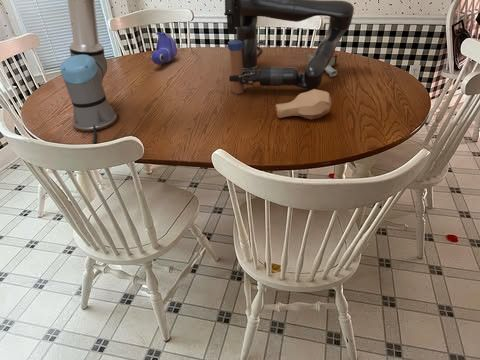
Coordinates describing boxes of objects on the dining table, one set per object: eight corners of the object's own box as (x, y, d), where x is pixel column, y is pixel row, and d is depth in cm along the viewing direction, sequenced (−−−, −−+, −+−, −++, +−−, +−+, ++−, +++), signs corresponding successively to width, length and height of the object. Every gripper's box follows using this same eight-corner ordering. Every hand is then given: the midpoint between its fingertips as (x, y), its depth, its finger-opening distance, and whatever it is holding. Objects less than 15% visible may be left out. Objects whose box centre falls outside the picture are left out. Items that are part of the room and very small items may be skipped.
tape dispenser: (333, 81, 157) (348, 64, 170) (335, 70, 154) (350, 54, 166) (297, 74, 164) (314, 58, 177) (297, 63, 161) (315, 47, 174)
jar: (244, 93, 148) (241, 44, 137) (233, 94, 148) (229, 45, 137) (243, 89, 152) (240, 41, 141) (232, 90, 152) (228, 42, 140)
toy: (165, 64, 197) (145, 70, 175) (161, 31, 190) (139, 33, 168) (182, 63, 195) (163, 69, 172) (178, 30, 188) (158, 32, 166)
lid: (243, 49, 138) (243, 43, 136) (228, 51, 137) (228, 44, 136) (242, 45, 142) (241, 39, 141) (227, 46, 142) (227, 40, 140)
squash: (335, 120, 125) (335, 98, 118) (278, 130, 127) (276, 109, 120) (328, 102, 132) (328, 81, 126) (275, 112, 134) (272, 92, 128)
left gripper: (226, -41, 132) (231, 23, 145) (212, -34, 114) (218, 38, 128) (246, -42, 131) (249, 23, 144) (234, -35, 113) (238, 38, 126)
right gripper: (270, 92, 141) (228, 91, 143) (273, 78, 152) (234, 78, 155) (270, 73, 136) (226, 73, 139) (273, 61, 148) (233, 61, 150)
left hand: (234, 30), depth 136 cm, fingers open, 10 cm apart
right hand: (230, 76), depth 147 cm, fingers closed on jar, 4 cm apart
